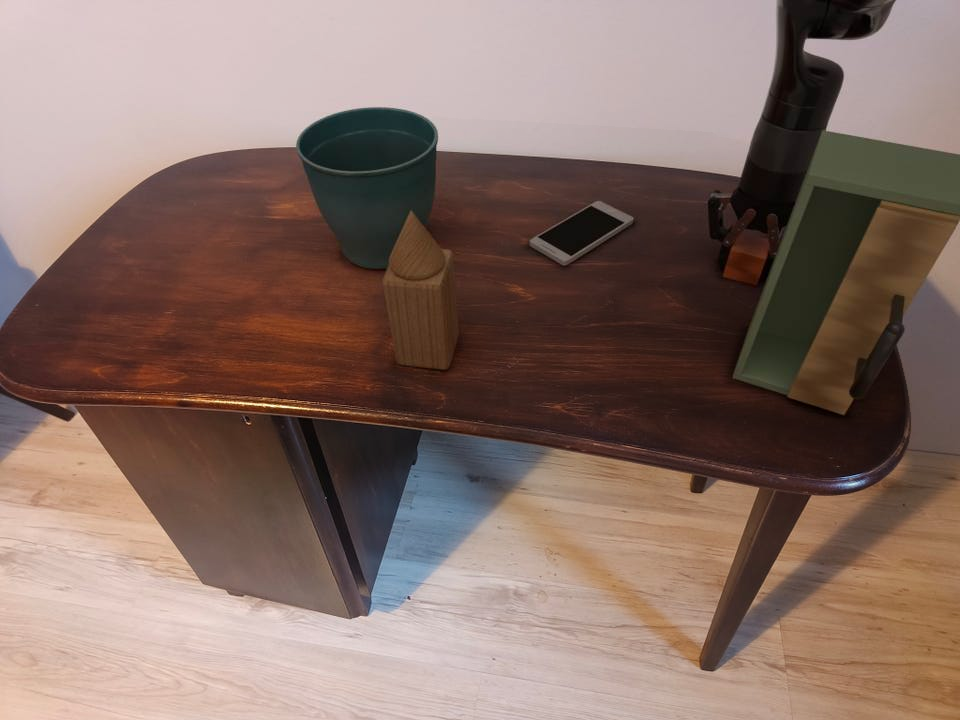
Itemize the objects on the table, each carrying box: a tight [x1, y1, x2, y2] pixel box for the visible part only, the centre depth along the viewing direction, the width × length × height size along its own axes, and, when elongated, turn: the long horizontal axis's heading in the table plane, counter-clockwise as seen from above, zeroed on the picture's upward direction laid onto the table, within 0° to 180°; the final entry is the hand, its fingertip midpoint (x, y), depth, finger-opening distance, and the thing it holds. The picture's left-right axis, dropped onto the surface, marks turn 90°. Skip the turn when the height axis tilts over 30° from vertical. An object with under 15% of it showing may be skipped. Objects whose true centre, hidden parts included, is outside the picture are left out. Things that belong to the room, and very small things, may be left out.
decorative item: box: [382, 211, 460, 371], centre depth 71 cm, size 7×7×20 cm
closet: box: [731, 130, 960, 396], centre depth 65 cm, size 12×10×26 cm
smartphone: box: [529, 200, 634, 266], centre depth 94 cm, size 7×16×1 cm, turn 132°
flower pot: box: [295, 106, 439, 270], centre depth 88 cm, size 18×18×17 cm
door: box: [786, 207, 957, 416], centre depth 59 cm, size 6×6×24 cm
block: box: [722, 232, 769, 287], centre depth 85 cm, size 4×4×4 cm
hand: (743, 270), depth 87 cm, fingers closed on block, 4 cm apart
